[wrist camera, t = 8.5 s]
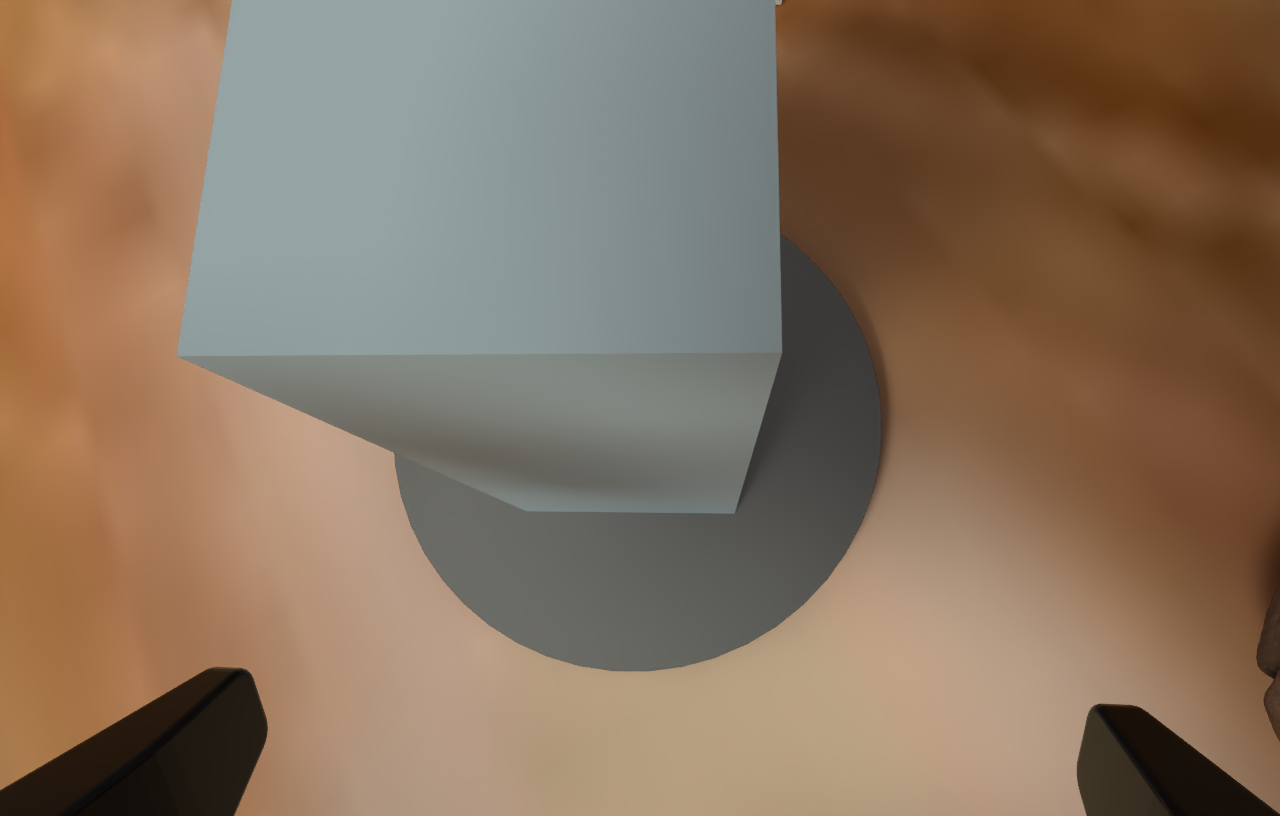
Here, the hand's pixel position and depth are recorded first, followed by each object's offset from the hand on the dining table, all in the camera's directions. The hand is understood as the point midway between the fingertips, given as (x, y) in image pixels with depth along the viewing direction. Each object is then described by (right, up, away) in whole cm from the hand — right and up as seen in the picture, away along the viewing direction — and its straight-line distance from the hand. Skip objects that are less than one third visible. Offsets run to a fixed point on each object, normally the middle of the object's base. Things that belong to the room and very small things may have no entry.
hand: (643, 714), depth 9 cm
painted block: (0, +3, +11) cm, 12 cm away
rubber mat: (0, +3, +12) cm, 12 cm away
